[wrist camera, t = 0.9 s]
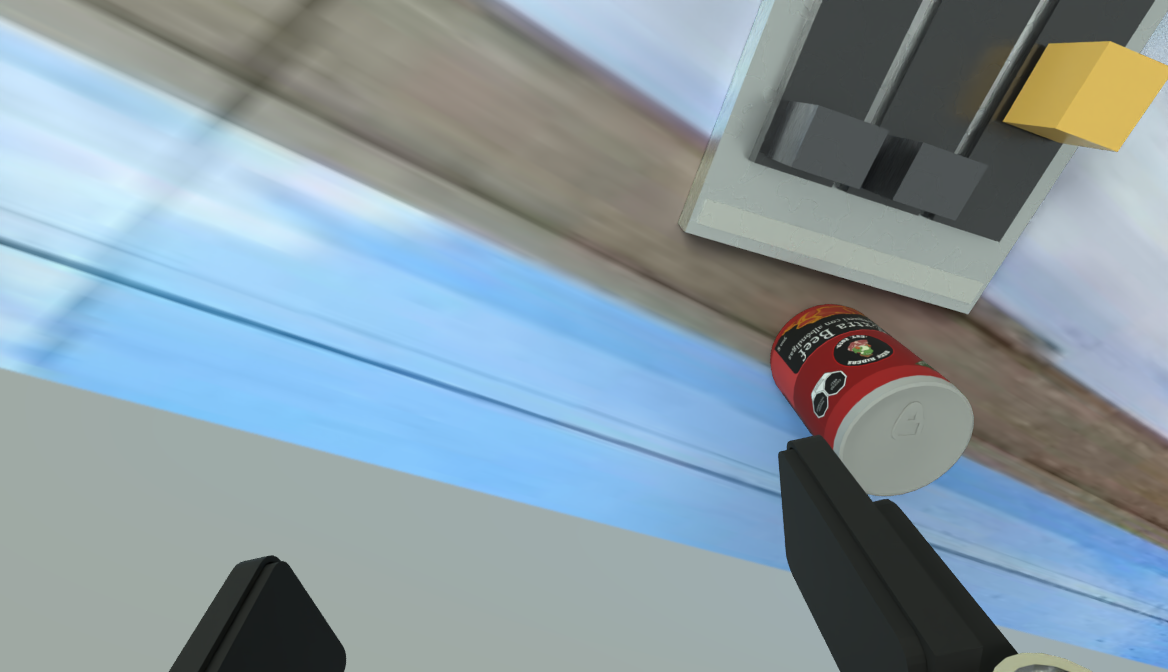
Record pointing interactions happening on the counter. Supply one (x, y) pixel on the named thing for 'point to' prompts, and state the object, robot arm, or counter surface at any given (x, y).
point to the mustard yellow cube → (1087, 94)
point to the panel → (892, 136)
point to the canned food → (870, 399)
